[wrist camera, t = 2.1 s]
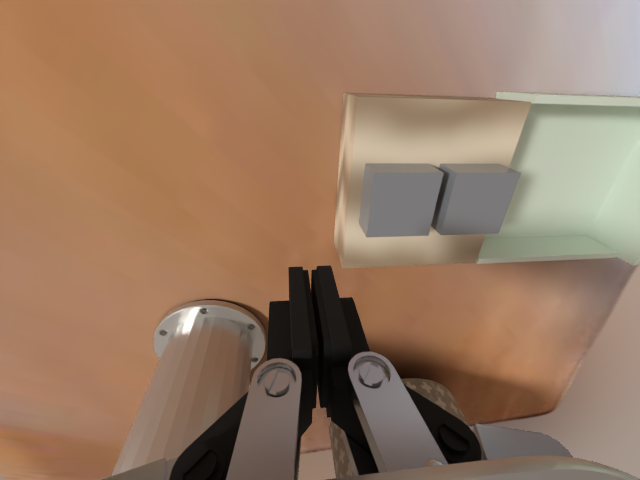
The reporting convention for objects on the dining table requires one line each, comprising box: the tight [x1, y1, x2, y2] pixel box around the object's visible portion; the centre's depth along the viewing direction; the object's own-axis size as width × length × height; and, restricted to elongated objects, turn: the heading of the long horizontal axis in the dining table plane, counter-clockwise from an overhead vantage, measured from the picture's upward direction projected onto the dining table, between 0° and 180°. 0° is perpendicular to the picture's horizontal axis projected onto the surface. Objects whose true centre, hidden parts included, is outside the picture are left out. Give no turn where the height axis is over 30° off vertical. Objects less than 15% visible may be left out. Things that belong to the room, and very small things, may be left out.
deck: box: [334, 93, 532, 268], centre depth 26 cm, size 14×13×5 cm
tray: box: [476, 92, 640, 266], centre depth 28 cm, size 15×17×6 cm
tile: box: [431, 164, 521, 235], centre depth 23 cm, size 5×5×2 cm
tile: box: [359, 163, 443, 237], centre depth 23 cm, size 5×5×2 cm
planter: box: [329, 378, 469, 478], centre depth 38 cm, size 19×19×18 cm
